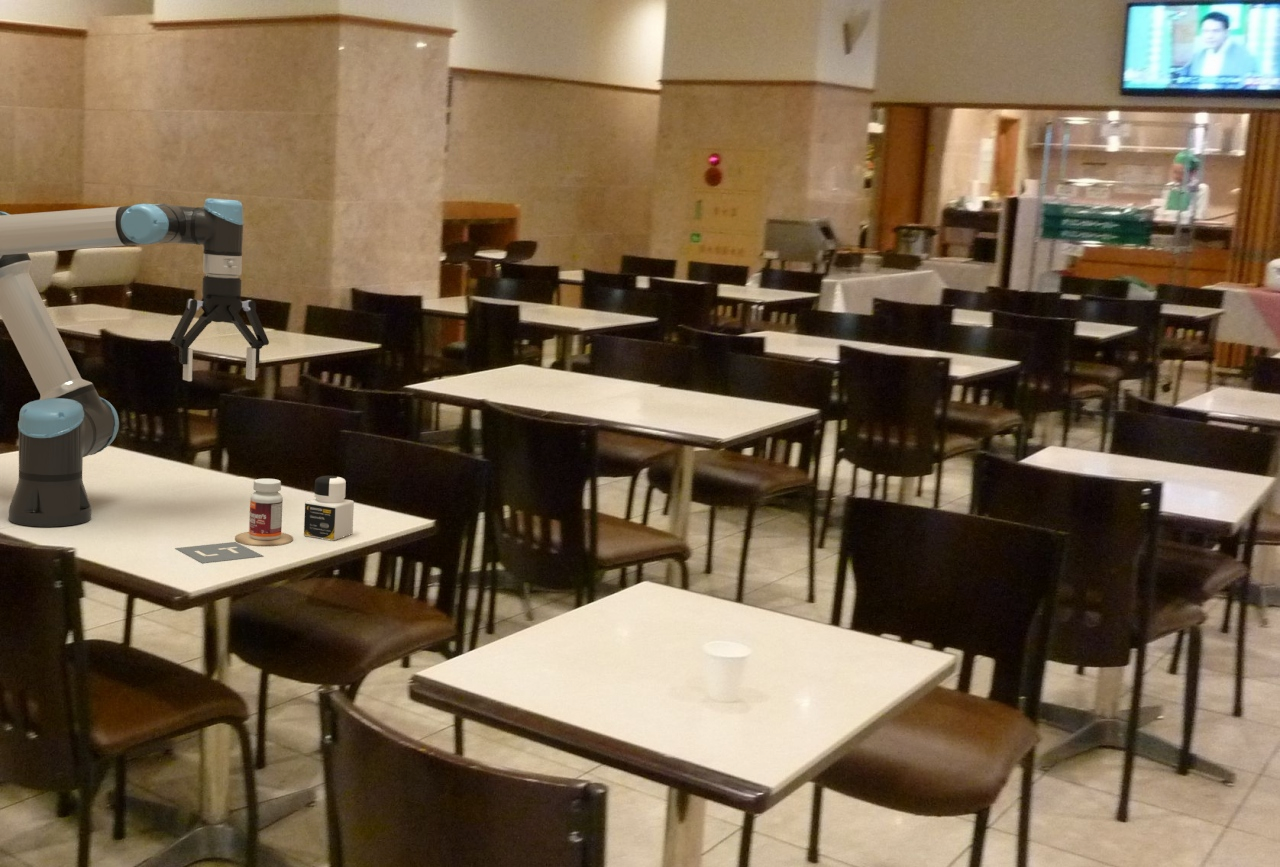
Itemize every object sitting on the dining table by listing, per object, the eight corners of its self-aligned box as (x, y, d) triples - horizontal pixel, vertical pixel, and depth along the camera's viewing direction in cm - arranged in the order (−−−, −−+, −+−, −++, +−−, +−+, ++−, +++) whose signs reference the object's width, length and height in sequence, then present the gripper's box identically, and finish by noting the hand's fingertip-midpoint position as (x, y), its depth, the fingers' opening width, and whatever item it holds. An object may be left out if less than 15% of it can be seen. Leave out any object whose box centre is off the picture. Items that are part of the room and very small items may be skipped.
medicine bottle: (303, 536, 275) (305, 477, 273) (322, 529, 282) (325, 472, 280) (333, 541, 273) (336, 482, 271) (353, 534, 280) (355, 476, 278)
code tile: (202, 564, 250) (202, 562, 249) (174, 549, 258) (175, 547, 258) (263, 557, 257) (263, 555, 257) (235, 543, 266) (235, 541, 266)
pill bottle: (242, 537, 269) (244, 480, 267) (262, 532, 274) (263, 476, 273) (268, 542, 266) (270, 485, 265) (287, 536, 272) (289, 480, 270)
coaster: (250, 548, 263) (250, 546, 263) (225, 536, 271) (225, 534, 271) (302, 542, 270) (302, 540, 270) (276, 530, 278) (276, 528, 278)
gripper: (169, 275, 268) (167, 383, 271) (287, 279, 284) (283, 381, 288) (154, 272, 273) (152, 378, 277) (270, 276, 290) (267, 376, 293)
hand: (219, 379), depth 282 cm, fingers open, 13 cm apart
